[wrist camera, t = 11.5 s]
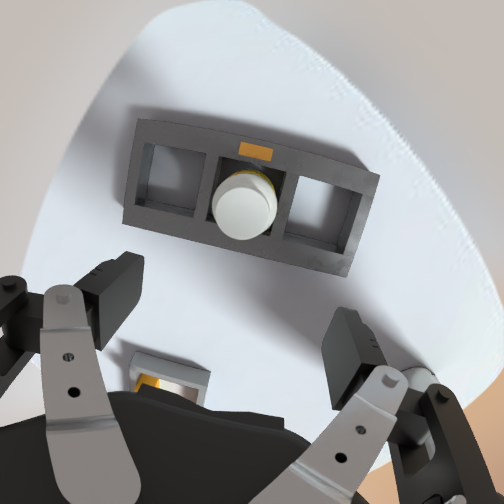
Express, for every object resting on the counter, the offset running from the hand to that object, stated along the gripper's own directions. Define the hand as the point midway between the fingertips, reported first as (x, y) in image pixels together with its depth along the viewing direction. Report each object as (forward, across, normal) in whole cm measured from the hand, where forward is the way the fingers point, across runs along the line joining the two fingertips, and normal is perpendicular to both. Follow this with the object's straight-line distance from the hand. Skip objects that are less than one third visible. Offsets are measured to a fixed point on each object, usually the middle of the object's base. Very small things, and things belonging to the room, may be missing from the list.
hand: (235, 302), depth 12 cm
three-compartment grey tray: (+20, +2, -1) cm, 21 cm away
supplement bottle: (+21, +1, -1) cm, 21 cm away
